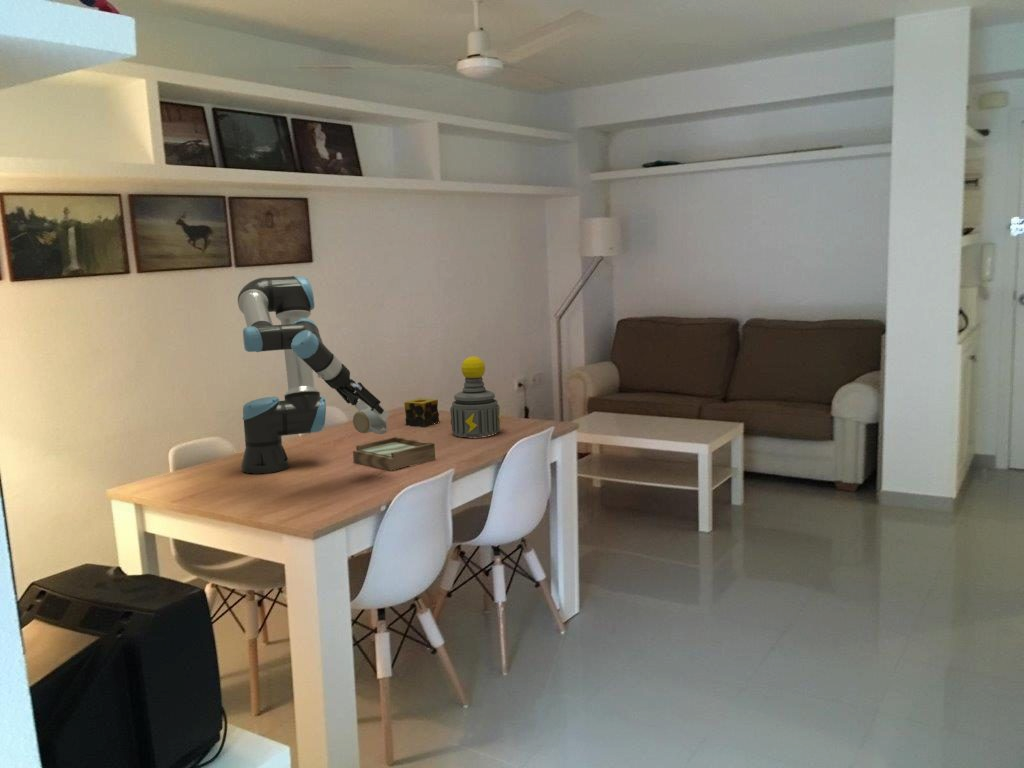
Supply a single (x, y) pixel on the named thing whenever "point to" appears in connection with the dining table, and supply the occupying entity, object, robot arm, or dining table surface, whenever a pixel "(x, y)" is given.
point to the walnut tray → (394, 453)
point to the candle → (421, 412)
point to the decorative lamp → (474, 404)
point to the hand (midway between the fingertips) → (378, 416)
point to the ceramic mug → (369, 422)
